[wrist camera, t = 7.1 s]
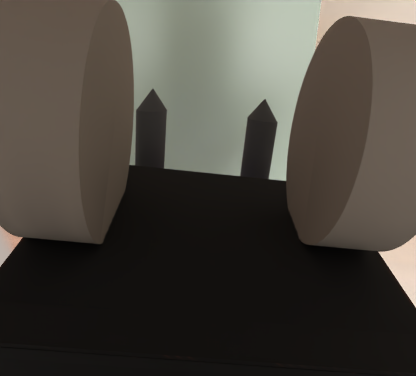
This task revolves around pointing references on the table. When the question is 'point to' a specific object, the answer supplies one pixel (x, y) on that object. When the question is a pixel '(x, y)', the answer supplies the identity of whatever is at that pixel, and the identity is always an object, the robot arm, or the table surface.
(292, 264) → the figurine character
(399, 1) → the table surface
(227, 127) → the pale green stepped box
